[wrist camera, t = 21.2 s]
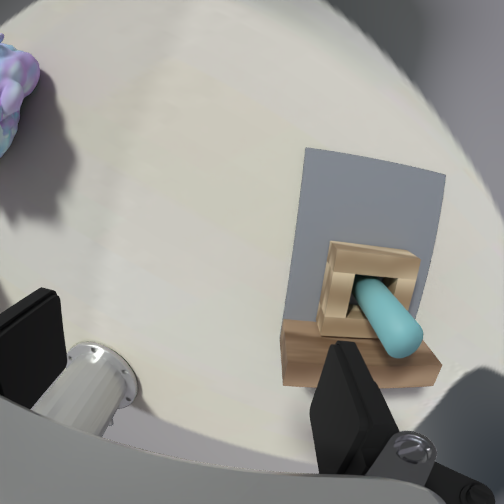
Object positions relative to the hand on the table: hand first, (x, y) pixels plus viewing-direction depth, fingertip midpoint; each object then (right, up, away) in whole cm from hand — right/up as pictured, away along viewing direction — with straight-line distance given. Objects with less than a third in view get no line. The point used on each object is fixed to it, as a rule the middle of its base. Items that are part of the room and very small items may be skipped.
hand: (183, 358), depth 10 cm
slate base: (+16, +3, +28) cm, 32 cm away
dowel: (+16, 0, +28) cm, 32 cm away
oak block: (+16, 0, +29) cm, 32 cm away
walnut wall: (+15, -7, +30) cm, 35 cm away
